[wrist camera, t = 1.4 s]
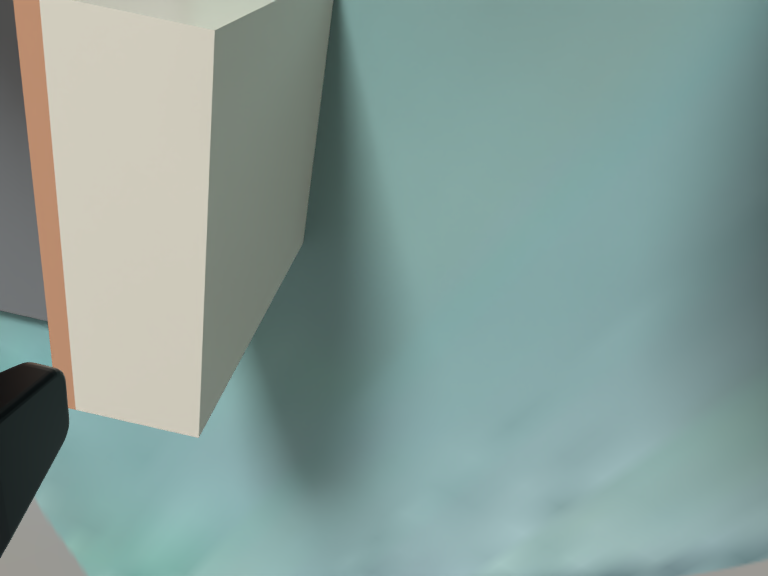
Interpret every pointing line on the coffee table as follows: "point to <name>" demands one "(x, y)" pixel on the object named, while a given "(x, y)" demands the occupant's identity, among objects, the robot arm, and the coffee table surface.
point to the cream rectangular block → (166, 187)
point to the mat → (16, 187)
